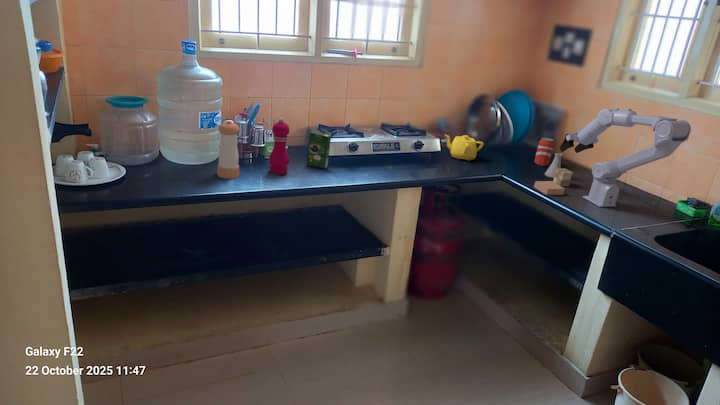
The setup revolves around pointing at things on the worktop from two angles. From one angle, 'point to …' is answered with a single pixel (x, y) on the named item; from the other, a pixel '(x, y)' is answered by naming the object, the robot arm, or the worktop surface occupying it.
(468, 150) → the teapot
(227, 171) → the salt shaker
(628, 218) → the worktop surface
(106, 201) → the worktop surface
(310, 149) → the coffee box
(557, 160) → the flask
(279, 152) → the pepper mill
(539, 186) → the base
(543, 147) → the beverage can
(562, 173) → the block
